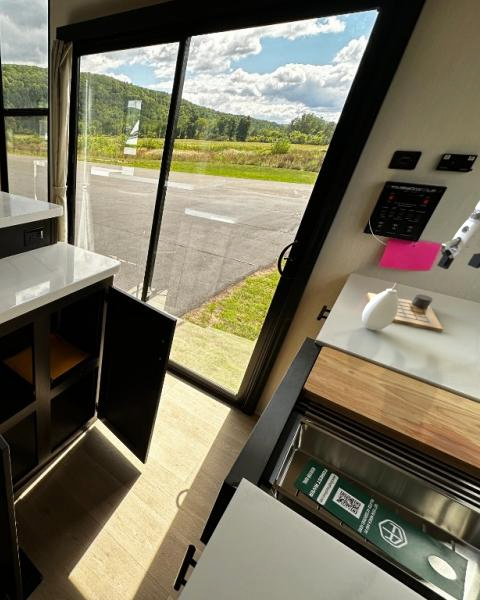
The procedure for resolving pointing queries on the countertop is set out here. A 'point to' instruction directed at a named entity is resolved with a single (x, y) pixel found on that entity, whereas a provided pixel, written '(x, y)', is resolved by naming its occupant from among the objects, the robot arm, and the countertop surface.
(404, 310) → the board
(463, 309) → the countertop surface
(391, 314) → the white air blower bulb
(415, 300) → the stone
